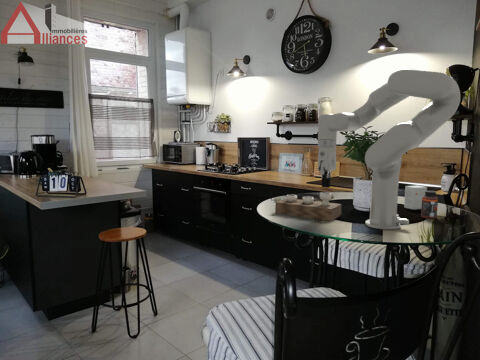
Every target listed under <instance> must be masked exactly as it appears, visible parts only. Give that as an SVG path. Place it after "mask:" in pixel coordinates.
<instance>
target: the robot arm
mask: <svg viewBox="0 0 480 360" xmlns="http://www.w3.org/2000/svg"><path fill="white" fill-rule="evenodd" d="M458 84H459V83H457V81H456V80H455V79H454V78H453V77H451V76H449V75H448V74H447V73H444V72H438V71H428V70H418V69H411V68H399V69H396V70H394V71H393V72H391V74H390V75H389V77H388V79H387V82H385V84H383V85H381V86H380V87H378V88H376V89H375V90H373V91H372V92H370V94H369V96H368V99H367V100H366V102H365V103H364V104H363V105H361V106H359V108H357V109H355V110H354V111H352V112H337V113H323V114H320V115H318V116H319V117H318V118H317V119H318V123H317V129H318V130H317V148H318V153H317V170H318V172H319V174H320V175H321V188H327V189H328V188H331V176H332V173H333V171H336V169H337V151H336V148H337V137H338V136H337V135H338V134H337V133H338V132H340V133H341V132H347V133H348V132H350V133H351V132H355V131H357V130H359V129H361V128H362V127H364V126H367V125H368V124H369V123H371V122H372V121H374V120H375V119H376V118H377V117H379V116H380V115H381V114H383V113H384V112H385V111H387V110H389V109H391V108H393V106H396V105H398V104H399V103H400V102H402V101H404V100H405V99H407V98H409V97H414V98H421V99H426V100H427V99H428V100H431V101H430V103H429V104H427V105H426V106H425V107H424V108H422V109H420V111H419V112H418V113H417V114H416V115H415V116H413V117H412V118H411V119H409V120H408V121H407V122H400V123H398V124H395V125H393V126H392V127H390V128H389V129H388V130H387V131H386V132H385V133H384V134H383V135H382V136H380V138H379V139H377V140H376V141H374V143H372V144H371V145H370V146H369V147H368V149H367V150H366V152H365V155H364V162H365V164H366V166H367V167H368V168H369V169H371V170H372V174H371V177H372V184H371V203H370V202H369V204H370V209H369V219H367V220H365V225H366V226H367V227H369V228H373V229H378V230H385V231H386V230H391V231H392V230H398V229H400V228H401V226H402V225H405V226H409V224H410V220H409V219H407V218H401V217H400V216H399V214H398V197H399V184H400V183H399V182H400V181H399V180H400V172H401V165H402V157H403V155H405V154H406V153H407V152H408V151H409V150H410V151H411V150H414V149H416V148H418V147H419V146H420V145H421V144H423V142H425V141H426V140H427V139H428V138H429V137H430V136H432V135H433V134H435V132H436V131H438V129H440V128H441V127H442V126H443V125H445V124H446V123H447V122H448V121H449V120H450V119H451V118H452V117H453V116H454V114H455V113H456V112H457V110H458V107H459V106H460V103H461V90H460V87H459V85H458Z"/></svg>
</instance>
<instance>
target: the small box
mask: <svg viewBox="0 0 480 360" xmlns="http://www.w3.org/2000/svg"><path fill="white" fill-rule="evenodd" d="M404 187H405V189H404V202H403V204H404V205H403V206H404V208H405V209H409V210H421V208H422V197H423V196H425V191H428V186H424V185H405V186H404Z"/></svg>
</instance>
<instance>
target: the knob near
mask: <svg viewBox="0 0 480 360" xmlns="http://www.w3.org/2000/svg"><path fill="white" fill-rule="evenodd" d="M319 199H320V200H322V201H321V202H322V206H328V205H329V203H330V200H332V192H326V191H322V192H319Z"/></svg>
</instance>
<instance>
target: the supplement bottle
mask: <svg viewBox="0 0 480 360" xmlns="http://www.w3.org/2000/svg"><path fill="white" fill-rule="evenodd" d="M438 203H439V197H438V196H437V191H435V190H427V191H425V196H423V197H422V208H421V209H420V210H421V212H420V217H422V218H424V219H429V220H434V219H437V217H438V205H439V204H438Z"/></svg>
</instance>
